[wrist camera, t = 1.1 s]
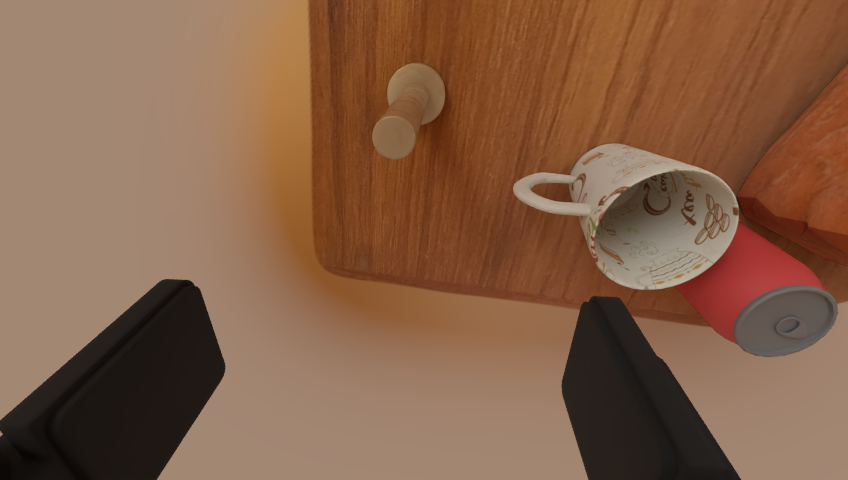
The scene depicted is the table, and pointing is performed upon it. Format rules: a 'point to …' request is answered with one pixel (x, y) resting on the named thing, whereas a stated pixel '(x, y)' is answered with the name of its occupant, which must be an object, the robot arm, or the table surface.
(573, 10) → the table surface
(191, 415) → the robot arm
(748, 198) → the bread
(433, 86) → the wooden peg with base
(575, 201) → the mug
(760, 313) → the beer can
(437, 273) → the table surface
